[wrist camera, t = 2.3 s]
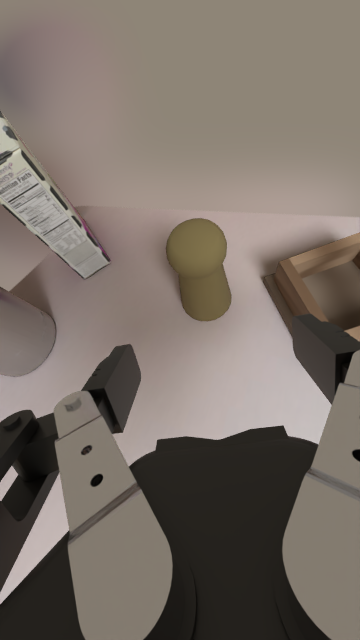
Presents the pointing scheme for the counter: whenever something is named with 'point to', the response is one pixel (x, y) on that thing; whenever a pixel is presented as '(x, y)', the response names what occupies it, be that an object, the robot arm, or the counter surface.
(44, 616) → the robot arm
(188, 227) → the olive knobbed peg
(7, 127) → the candy bar box
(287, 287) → the walnut socket
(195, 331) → the counter surface
